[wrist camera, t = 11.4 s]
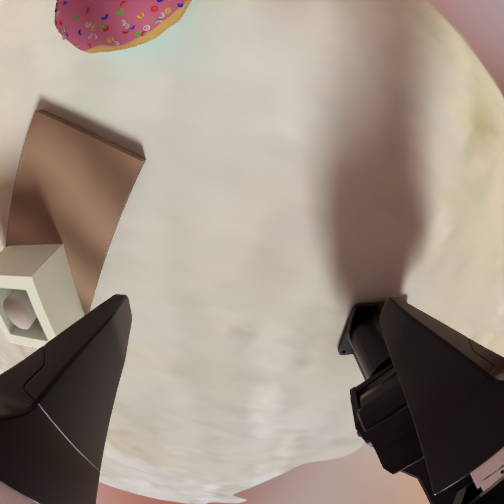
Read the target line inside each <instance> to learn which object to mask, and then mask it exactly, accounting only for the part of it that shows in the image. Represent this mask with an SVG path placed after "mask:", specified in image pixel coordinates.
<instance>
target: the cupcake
mask: <svg viewBox="0 0 504 504" xmlns="http://www.w3.org/2000/svg"><path fill="white" fill-rule="evenodd" d="M191 1H192V0H57V3H56V8H55V26H56V28H57V30H58V33H59V32H60V34H61V35H62V38H63V39H67V40H68V41H69V42H70V43H72V44H73V45H74V46H75V47H77V48H78V49H80V50H83V51H85V52H88V53H97V52H108V51H115V50H121V49H126V48H130V47H134V46H137V45H140V44H143V43H145V42H148V41H150V40H152V39H154V38H156V37H158V36H159V35H160V34H161V33H163V32H164V31H165V30H166V29H168V28H169V27H171V26H172V25H174V24H175V23H176V22H178V21H179V20H180V19H181V17H182V16H183V14H184V12H185V11H186V9H187V7H188V5H189V4H190V2H191Z"/></svg>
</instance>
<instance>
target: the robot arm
mask: <svg viewBox="0 0 504 504" xmlns="http://www.w3.org/2000/svg"><path fill="white" fill-rule="evenodd" d="M359 308H360V309H359ZM358 309H359V310H358ZM131 323H132V314H131V309H130V304H129V299H128V297H127V296H126V295H120V294H115V295H114V296H112V297H111V298H109V299H108V300H106V301H105V302H103V303H102V304H100V305H99V306H98V307H96V308H95V309H93V310H92V311H90V312H89V313H88V314H86V315H85V316H83V317H82V318H81V319H79V320H78V321H76V322H75V323H74V324H72V325H71V326H69V327H68V328H67V329H65V330H64V331H62V332H61V333H60V334H58V335H57V336H56V337H54V338H53V339H51V340H50V341H49V342H47V343H46V344H45V345H44V346H42V347H41V348H39V349H38V350H37V351H35V352H34V353H32V354H31V355H30V356H28V357H27V358H25V359H24V360H23V361H21V362H19V363H18V364H16V365H15V366H13V367H12V368H10V369H9V370H7V371H5V372H4V373H2V374H1V375H0V504H96V496H97V489H98V482H99V476H100V472H99V471H100V468H101V463H102V457H103V451H104V446H105V441H106V436H107V431H108V426H109V422H110V417H111V413H112V409H113V404H114V400H115V396H116V392H117V388H118V384H119V381H120V377H121V373H122V370H123V366H124V362H125V357H126V351H127V345H128V339H129V334H130V328H131ZM338 352H339V354H340V355H348V354H353V355H354V357H355V359H356V361H357V363H358V366H359V368H360V370H361V372H362V374H363V377H364V379H365V381H364V382H363V383H361V384H360V385H358V386H357V387H353V388H352V389H350V395H351V404H352V410H353V415H354V421H355V427H356V430H357V434H358V436H359V437H362V438H363V439H364V441H365V442H366V443H367V444H368V445H369V446H371V447H374V449H375V451H376V453H377V455H378V457H379V459H380V462H381V464H382V466H383V468H384V469H386V470H387V471H389V472H390V473H392V474H396V473H398V472H400V471H401V472H403V473H405V474H408V475H410V476H412V477H415V478H417V479H418V481H419V482H420V484H421V486H422V488H423V490H424V492H425V494H426V496H427V498H428V500H429V502H430V504H504V357H502V356H500V355H498V354H496V353H494V352H493V351H491V350H489V349H487V348H485V347H483V346H482V345H480V344H478V343H476V342H475V341H473V340H471V339H469V338H467V337H466V336H464V335H463V334H461V333H459V332H457V331H456V330H454V329H452V328H450V327H449V326H447V325H445V324H443V323H442V322H440V321H438V320H436V319H435V318H433V317H431V316H429V315H428V314H426V313H424V312H422V311H420V310H419V309H417V308H415V307H413V306H412V305H410V304H408V303H407V302H406V301H403V300H401V299H399V298H388V299H387V300H386V302H380V303H362V304H357V305H355V306H354V308H353V311H352V313H351V316H350V319H349V322H348V325H347V328H346V330H345V333H344V336H343V339H342V341H341V344H340V346H339V349H338Z"/></svg>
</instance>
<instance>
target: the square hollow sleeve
mask: <svg viewBox="0 0 504 504" xmlns="http://www.w3.org/2000/svg"><path fill="white" fill-rule="evenodd" d="M14 289H19V290H26V291H27V294H28V296H29V299H30V301H31V304H32V306H33V308H34V311H35V313H36V315H37V318H36V319H35V320H34V322H33V323H32V325H31V326H30V328H29V329H21V328H19V327H17V326H16V325H14V324H13V323H12V322H11V321H10V319H9V318H8V317H7V315H6V313H5V311H4V307H3V302H4V300H5V299H6V298H7V297H8V295H9V294H10V293H11V292H12V291H13V290H14ZM84 315H85V314H84V312H83V309H82V306H81V303H80V300H79V297H78V294H77V291H76V288H75V285H74V281H73V278H72V275H71V271H70V268H69V264H68V260H67V256H66V253H65V249H64V245H63V244H43V245H14V246H7V247H6V248H5V249H3V250H2V251H1V252H0V328H1V330H2V332H3V334H4V336H5V337H6V339H7V341H8V342H11V343H15V344H19V345H24V346H28V347H33V348H38V349H39V348H41V347H42V346H44V345H45V344H46V343H47V342H49V341H50V340H51V339H53V338H54V337H56V336H57V335H58V334H60V333H61V332H62V331H64V330H65V329H67V328H68V327H69V326H71V325H72V324H74V323H75V322H76V321H78V320H79V319H81V318H82V317H83V316H84Z"/></svg>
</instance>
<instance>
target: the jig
mask: <svg viewBox="0 0 504 504" xmlns="http://www.w3.org/2000/svg"><path fill="white" fill-rule="evenodd" d="M145 160H146V159H144V158H142V157H140V156H138V155H136V154H134V153H132V152H130V151H128V150H126V149H124V148H122V147H120V146H118V145H116V144H114V143H112V142H109V141H107V140H105V139H103V138H101V137H99V136H97V135H95V134H93V133H91V132H89V131H87V130H84V129H82V128H80V127H78V126H76V125H74V124H72V123H70V122H67V121H65V120H63V119H61V118H59V117H57V116H54V115H52V114H50V113H48V112H45V111H43V110H39V111H35V113H34V116H33V119H32V122H31V125H30V128H29V131H28V134H27V137H26V141H25V144H24V148H23V151H22V155H21V159H20V163H19V167H18V171H17V176H16V180H15V185H14V190H13V196H12V201H11V208H10V215H9V222H8V231H7V241H6V247H7V246H14V245H43V244H63V245H64V249H65V253H66V256H67V260H68V264H69V268H70V271H71V275H72V278H73V281H74V285H75V288H76V291H77V294H78V297H79V300H80V303H81V306H82V309H83V312H84V314H85V315H86V314H88V313H89V311H90V307H91V304H92V300H93V296H94V293H95V289H96V286H97V283H98V279H99V276H100V273H101V270H102V267H103V264H104V261H105V258H106V255H107V252H108V249H109V246H110V243H111V240H112V238H113V235H114V232H115V230H116V227H117V224H118V222H119V219H120V217H121V214H122V212H123V209H124V207H125V204H126V202H127V200H128V197H129V195H130V193H131V190H132V188H133V186H134V184H135V181H136V179H137V177H138V175H139V173H140V170H141V168H142V166H143V164H144V162H145ZM3 307H4V311H5V313H6V315H7V317H8V318H9V319H10V321H11V322H12V323H13V324H14V325H16V326H17V327H19V328H21V329H29V328H30V326H31V325H32V323H33V322H34V320H35V319H36V318H37V315H36V313H35V311H34V308H33V306H32V304H31V301H30V299H29V296H28V294H27V291H26V290H19V289H14V290H13V291H12V292H11V293H10V294H9V295H8V297H7V298H6V299H5V300H4V302H3ZM85 315H84V316H85Z"/></svg>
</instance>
